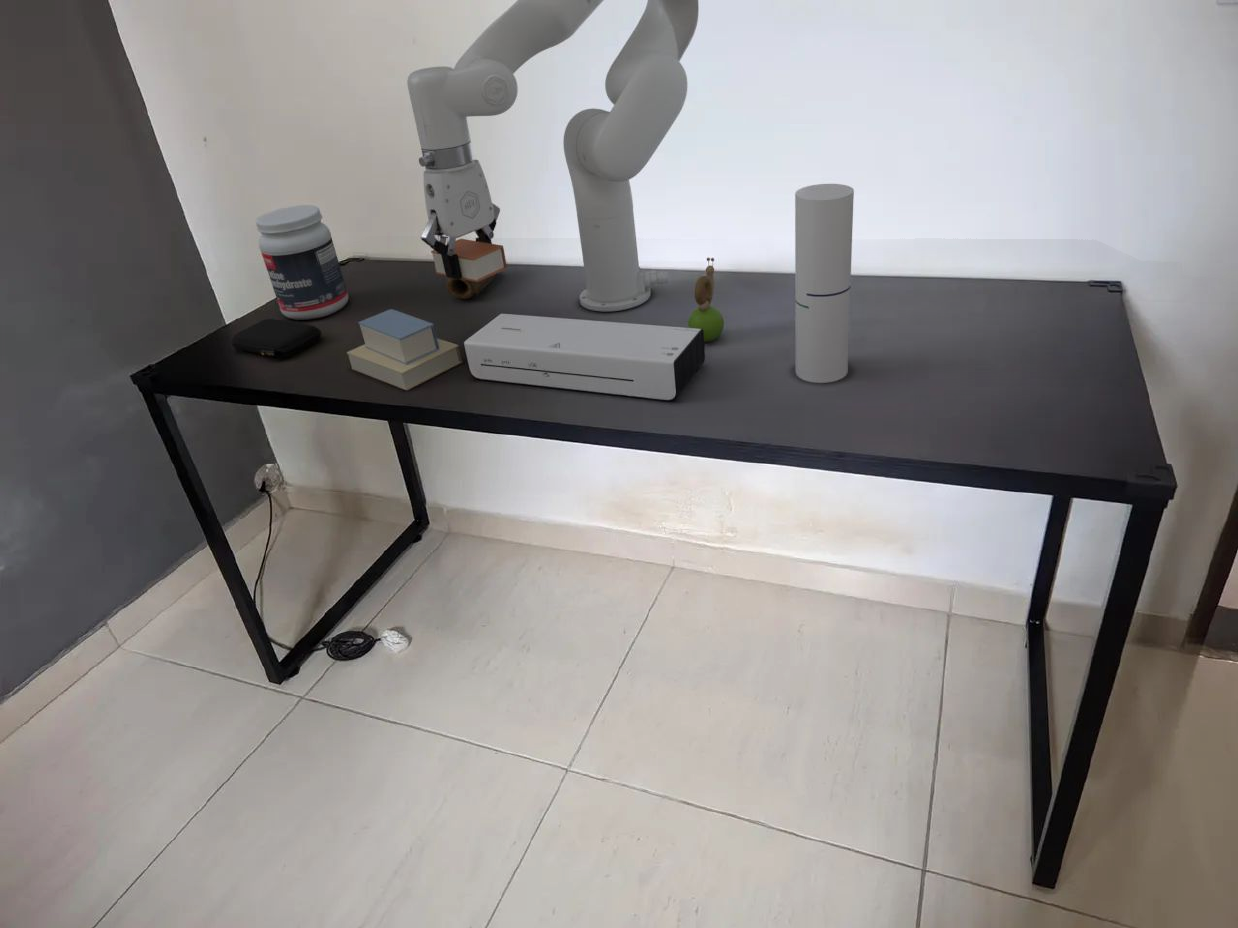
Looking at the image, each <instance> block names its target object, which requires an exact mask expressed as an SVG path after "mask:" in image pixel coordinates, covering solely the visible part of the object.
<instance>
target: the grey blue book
mask: <svg viewBox="0 0 1238 928" xmlns="http://www.w3.org/2000/svg"><path fill="white" fill-rule="evenodd" d="M358 324H359V328H360V331H361V334H362V339H363V341H364V344H365V345H366V346H365V347H366V348H368V349H370V350H373V351H375V352H377V353H380V354H382V355H384V356H387V357H389V358H392V359H394V360H396V361H399V362H401V363H403V364H406V365H408V364H410V363H412V362H414V361H416V360H419V359H421V358H423V357H425V356H427V355H430V354H432V353H434V352H436V351H438V350H440V349H439V345H438V341H437V339H438V338H437V333H436V329H435V324H434V323H433V322H429V321H427V320H423V319H422V318H418V317H415V316H412V315H410V314H407V313H405V312H401V311H398V310H396V309H393V308H389V309H387V310H385V311H383V312H380V313H378V314H375V315H373V316H369V317H368V318H365V319H363V320H361V321H358Z"/></svg>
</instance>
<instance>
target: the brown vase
mask: <svg viewBox="0 0 1238 928" xmlns="http://www.w3.org/2000/svg"><path fill="white" fill-rule="evenodd" d="M498 274H499V272H498V273H496V274H494V275H492V276H490V277H488V278H486V279H483V280H481V281H479V282H475V281H470V280H465V279H459V280H458V279H453V278H448V279H447V281H446V289H447V291H448V293H449V294H450V295H452V297H454V298H456V299H463V300H464V299H470V298H474V297H476V296H478V295H479V294H480V293H481V292H482V291H483V290H484V289H485V288H487V287H488V285H489V284H490V283H491V282H492V281H493V280H494V279H495V278H496V277H497V275H498Z"/></svg>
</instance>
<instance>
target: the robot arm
mask: <svg viewBox="0 0 1238 928" xmlns="http://www.w3.org/2000/svg"><path fill="white" fill-rule="evenodd" d="M604 1H605V0H516V1H515V2H514V3H513V4H512V5H511V6H510V7H509V8H508V9H507V10H506V11H504V12H503V13H502V14H501V15H500V16H498V17H497V18H496V19H495V20H494V21H493V22H492V23H491V24H490V25H489V26H488V27H486V29H485V30H483V32H482V33H481V34H480V35H479V36H478V37H477V38H476V39H475V40H474V42H473V43H472V44H471V45H470V46H469V47H468V49H466V50H465V52H464V53H463V54H462V55H461V56H460V57H459V59H458V60H457V62H456V63H455V65H454V67H450V66H432V67H431V66H430V67H425V68H421V69H418V70H417V69H416V70H414V71H412V72H411V73H409V75H408V77H407V84H406V85H407V91H408V94H409V99H410V103H411V109H412V112H413V118H414V122H415V126H416V131H417V135H418V140H419V144H420V148H421V149H420V150H421V155H422V156H420V157H419V159H418V163H419V165H420V167H423V168H424V169H425V170H423V191H424V192H423V193H424V200H425V202H424V203H425V208H426V214H427V219H428V221H427V223H426V225H425V227H424V229H423V231H422V233H421V236H420V239H421V241H422V242H424V243H425V244H426V245H427V246H429V247H430V248H431V249H432V250H435V251H437V253H438V254H441V256H442V261H443V265H444V270H445V273H446V275H445V276H446V277H447V278H448V279H449V278H453V279H458V280H459V279H461V278H462V273H461V269H460V264H459V259H458V255H457V254H454V248H455V241H456V240H457V239H458V238H459V239H460V238H461V237H464V236H466V235H469V234H471V233H475V234H476V236H477V237H475V239H474V240H475V241H478V242H484V243H490V244H493V242H492V239H494V237H495V233H494V231H495V228H496V226H497V221H498V218H499V215H500V212H501V208H500V207H499V206H498V205H496V204H495V203H493V201H492V197H491V193H490V190H489V189H490V188H489V185H488V182H487V179H486V176H485V173H484V170H483V168H482V165H481V162H480V161H479V160H478V159H476V158H475V156H474V151H473V145H472V140H471V133H470V129H469V124H468V119H467V118H468V117H492V116H500V115H501V114H504V113H506V112H507V111H509V110H510V109H511V108H512V107H513V105H514V104H515V102H516V100H517V97H518V93H519V86H518V81H517V79H516V76H515V75H514V74H515V73H516V72H517V71H518V70H519V68H521V67H522V66H523V65H525V64H526V63H527V62H528V61H529V60H530V59H531V58H533V57H534V56H536V55H538V54H540V53H542V52H544V51H546V50H548V49H550V48H551V49H552V48H554V47H556V46H558V45H560V44H561V43H564V42H565V41H566V40H568V39H570V38H571V37H573V35H575V34H576V32H577V31H578V30H579V29H580V28H581V26H582V25H583V24H584V23H585V22H586V20H588V18H590V16H591V15H592V14H593V13H594V12H595V11H596V10H597V9H598V7H600V5H601V4H602V3H603V2H604ZM699 7H700V6H699V0H647V1H646V6H645V8H644V11H643V13H642V15H641V16H640V19H639V20H638V22H637V24H636V26H635V28H634V29H633V31H632V32H631V34H630V36H629V37H628V39H627V40H626V42H625V43H624V45H623V47H622V48H621V50H620V52H619V53H618V55H617V56H616V57H615V59H614V61H612V64H611V65H610V67H609V69H608V71H607V72H606V76H605V82H604V89H605V93H606V96H607V98H608V100H609V101H610V102H611V103H612V105H613V107H612V108H611V110H610V111H608V110H605V109H601V108H587V109H583V110H580V111H579V112H577V113H576V114H575V115H573V116H572V117H571V118H570V120H569V121H568V122H567V125H566V127H565V130H564V134H563V142H562V143H563V153H564V157H565V162H566V166H567V169H568V173H569V176H570V177H569V178H570V181H571V186H572V190H573V191H572V192H573V196H574V203H575V211H576V218H577V225H578V234H579V241H580V245H581V246H580V247H581V256H582V261H583V269H584V277H585V284H586V288H585V289H584V290H582V292H581V293H580V294H579V297H578V298H579V303H580V305H581V306H582V307H583V308H585V309H586V310H589V311H593V312H601V313H602V312H604V313H605V312H606V313H607V312H608V313H609V312H619V311H625V310H630V309H633V308H635V307H638V306H641V305H642V304H645V302H647V301H648V300H649V299H650V298H651V286H652V285H660V284H661V285H662V284H667V283H668V273H667V271H661V272H658V270H657V269H652V270H649V271H644V270H642V269H641V267H640V265H639V264H640V263H639V253H638V252H639V251H638V243H637V233H636V225H635V214H634V201H633V193H632V187H631V182H630V180H631V179H633V178H634V177H636V176H637V175H638V174H639V173H641V171H642V170H643V169H644V168H645V167H646V165H647V164H648V163H649V161H650V160H651V158H652V157H653V156H654V154H655V152H656V151H657V150H658V148H659V146H660V144H661V143H662V142H663V140H664V138H665V137H666V135H667V134H668V132H669V131H670V129H671V128H672V126H673V124H674V123H675V122H676V120H677V119H678V117H679V116H680V113H681V111H682V110H683V107H684V105H685V103H686V100H687V95H688V87H689V86H688V85H689V83H688V77H687V76H688V75H687V73H686V70H685V68H684V66H683V64H682V63H681V60H682V58H683V56H684V54H685V52H686V51H687V49H688V47H689V45H690V44H691V42H692V40H693V38H694V35H695V33H696V29H697V26H698V22H699V11H700V10H699V9H700V8H699ZM436 236H437V238H436ZM446 245H447V246H446Z"/></svg>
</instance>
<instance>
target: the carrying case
mask: <svg viewBox="0 0 1238 928" xmlns="http://www.w3.org/2000/svg"><path fill="white" fill-rule="evenodd" d="M321 336H322V331H321V329H320V328H318V327H316V326H315V325H312V324H310V323H309V324H307V323H303V322H302V323H301V322H295V321H288V320H282V319H275V318H265V319H262V320H260V321H258V322H256V323H254V324H252V325H250V326H248V327H246V328H244V329H242V330H240V331H238V332H236V333H235V334H234V335H233V337H232V339H231V345H232V346H233V348H234V349H236V350H241V351H243V352H248V353H254V354H259V355H261V356H262V357H278V358H289V357H292V356H294V355H295V354H297V353H299V352H301V351H302V350H305V349H306V348H308V347H310V346H312V345H313V344H315V343H316V342H318V341H319V340H320V337H321Z"/></svg>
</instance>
